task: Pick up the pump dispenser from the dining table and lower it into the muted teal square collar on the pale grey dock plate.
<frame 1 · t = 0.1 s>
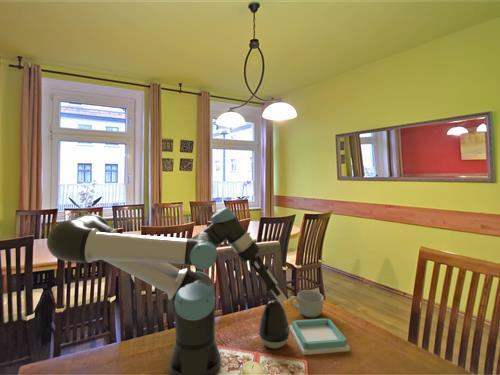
hand: (279, 292, 103), 16 cm above the table, tool tilted 35°, fingers open, 13 cm apart
dock: (317, 338, 102), on the table
teacup: (306, 314, 120), on the table
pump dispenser: (273, 344, 99), on the table, touching gripper
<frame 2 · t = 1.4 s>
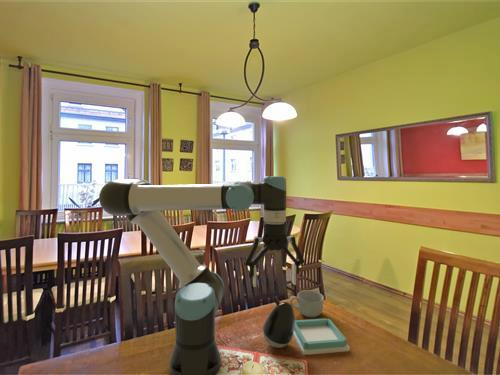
hand: (274, 284, 98), 21 cm above the table, tool pointing down, fingers open, 13 cm apart
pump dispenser: (274, 341, 99), point 1 cm above the table
everything else where it was.
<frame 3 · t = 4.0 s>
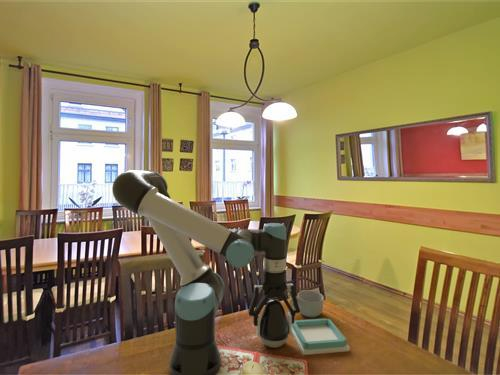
hand: (273, 333, 98), 4 cm above the table, tool pointing down, fingers closed on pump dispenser, 10 cm apart
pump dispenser: (273, 343, 99), on the table, touching gripper
everything else where it was.
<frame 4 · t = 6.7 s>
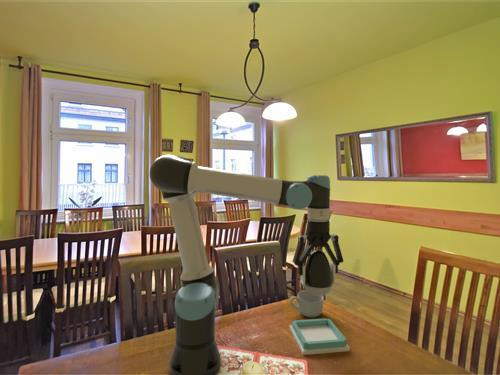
hand: (317, 283, 101), 20 cm above the table, tool pointing down, fingers closed on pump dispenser, 10 cm apart
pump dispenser: (317, 293, 101), point 16 cm above the table, touching gripper
everything else where it was.
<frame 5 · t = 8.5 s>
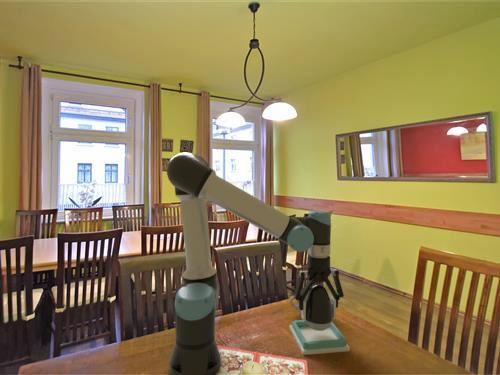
hand: (318, 317, 101), 8 cm above the table, tool pointing down, fingers closed on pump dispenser, 10 cm apart
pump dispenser: (317, 327, 102), point 4 cm above the table, touching gripper
everything else where it was.
when the fingers open (6 cm above the table, at t = 9.7 s): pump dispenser drops 1 cm, resting on dock.
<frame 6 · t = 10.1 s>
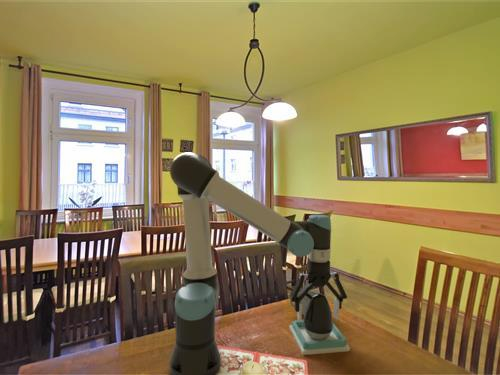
hand: (317, 319, 101), 7 cm above the table, tool pointing down, fingers open, 13 cm apart
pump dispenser: (317, 335, 102), point 1 cm above the table, touching dock
everything else where it was.
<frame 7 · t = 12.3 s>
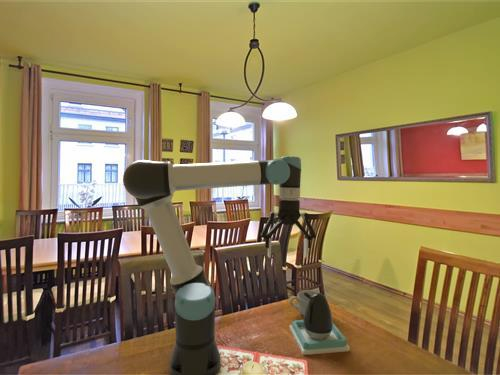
hand: (287, 256, 106), 28 cm above the table, tool pointing down, fingers open, 13 cm apart
nothing on the table moved.
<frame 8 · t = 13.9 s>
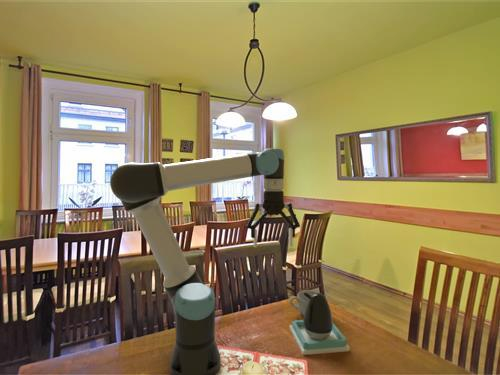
hand: (272, 246, 109), 31 cm above the table, tool pointing down, fingers open, 13 cm apart
nothing on the table moved.
at the end: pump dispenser 0.1 cm off-centre on the dock, point 1.0 cm above the dock's base; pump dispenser tilted 0°; the gripper is holding nothing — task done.
